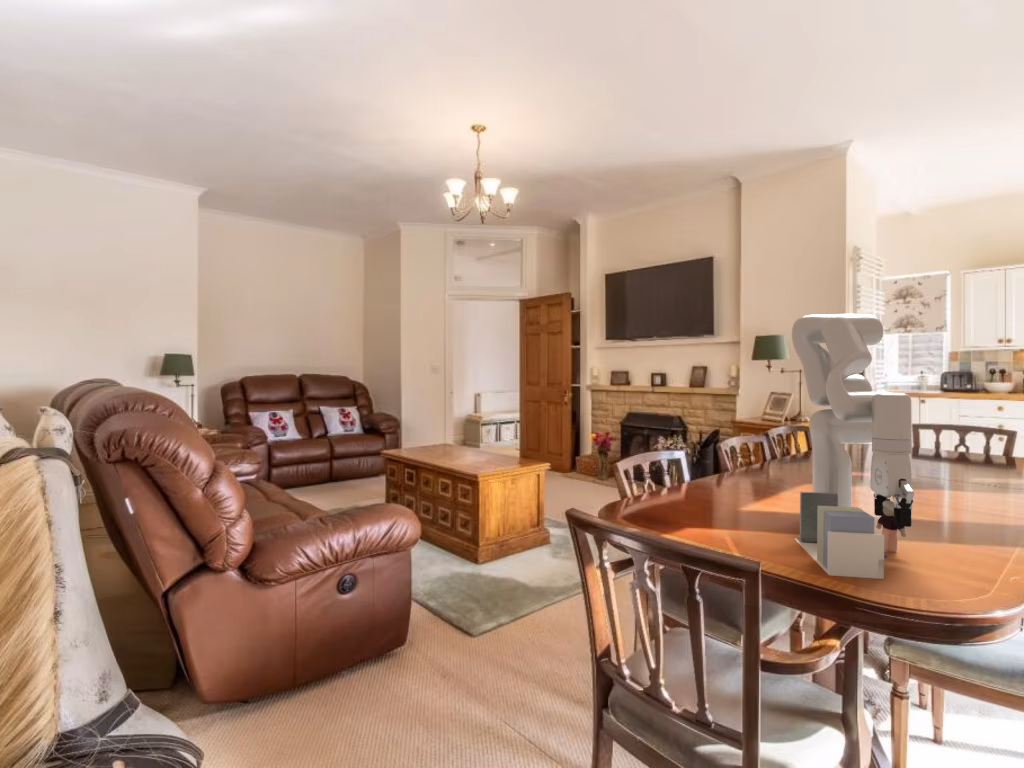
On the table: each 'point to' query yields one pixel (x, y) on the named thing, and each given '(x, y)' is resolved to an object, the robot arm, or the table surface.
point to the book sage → (821, 526)
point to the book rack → (851, 554)
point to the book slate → (846, 525)
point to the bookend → (813, 512)
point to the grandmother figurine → (889, 527)
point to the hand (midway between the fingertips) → (892, 520)
